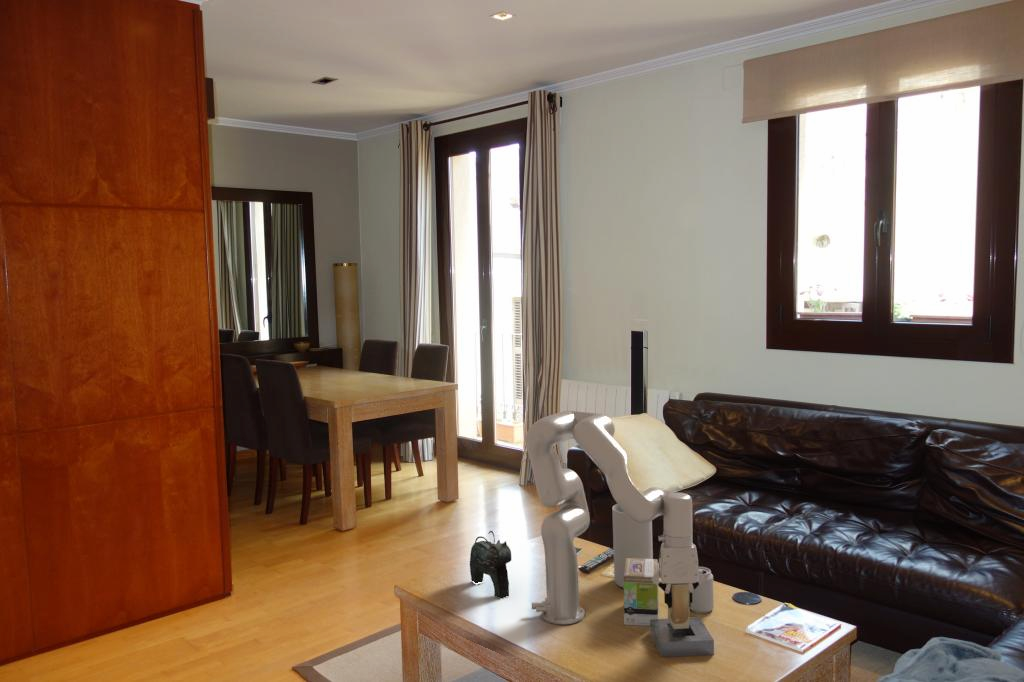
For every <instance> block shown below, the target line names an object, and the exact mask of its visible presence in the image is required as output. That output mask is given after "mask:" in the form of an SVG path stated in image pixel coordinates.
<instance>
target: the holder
mask: <svg viewBox="0 0 1024 682" xmlns="http://www.w3.org/2000/svg"><path fill="white" fill-rule="evenodd" d="M649 634H650V636H651V638H652V640H653V643H654V645H655V647H656V650H657V652H658V654H659V656H660V658H677V657H678V658H679V657H694V656H697V657H698V656H714V655H715V640H714V638H713V636H712V635H711V633H710V631H709V630H708V628H707V627H706V625H705V623H704V622H703V620H702V618H701V617H700V616H697V617H696V616H695V617H694V616H692V617H690V616H689V628H685V629H674V628H673V627H672V625H671V624H670V622H669V620H668V618H658V619H650V626H649Z"/></svg>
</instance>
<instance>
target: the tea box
mask: <svg viewBox="0 0 1024 682" xmlns="http://www.w3.org/2000/svg"><path fill="white" fill-rule="evenodd" d="M658 569H659V559H657V558H653V559H636V558H626V559H625V569H624V588H623V624H624V625H625V626H626V625H627V626H639V627H641V626H644V627H650V619H659V601H660V600H659V597H660V596H659V586H658V585H656V584H655V583H653V582H652V580H651V579H652V577H653V576H654V575H655V573H656V572H657V570H658Z"/></svg>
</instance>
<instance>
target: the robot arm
mask: <svg viewBox="0 0 1024 682" xmlns="http://www.w3.org/2000/svg"><path fill="white" fill-rule="evenodd" d="M615 431H616V428H615V425H614V423H613V421H612V419H611V418H610V417H608V416H607V415H605V414H601V413H596V412H586V411H585V412H584V411H576V410H563V411H559V412H557V413H553V414H549V415H546V416H545V417H542V418H540V419H538V420H536V421H534V423H533V424H532V425H531V426H530V427H529V428H528V430H527V432H526V436H525V447H526V451H527V454H528V457H529V461H530V464H531V468H532V474H533V478H534V483H535V488H536V492H537V496H538V499H539V501H540V503H541V504H542V505H543V506H544V507H546V508H552V509H553V508H556V507H559V508H558V509H556V510H554V511H552V512H551V513H549V514H548V515H547V516H546V517H545V518H544V519H543V521H542V523H541V527H540V533H541V539H542V543H543V549H544V565H545V584H546V585H545V587H546V597H545V598H544V600H542V601H541V602H531V610H535V611H536V613H540V612H541V617H542V618H543V620H545V622H548V623H551V624H553V625H572V624H576V623H578V621H579V622H580V620H581V621H582V620H583V619H584V618H585V615H586V612H585V609H584V608H583V607H581V606H580V596H579V593H580V592H579V567H578V565H579V563H578V552H577V550H576V547H575V543H574V539H576V538H577V537H579V536H581V535H582V534H583V533H585V532H586V530H588V528H589V526H590V521H591V519H590V516H591V515H590V512H589V507H588V502H587V499H586V492H585V490H584V484H583V482H582V480H581V478H580V476H579V475H578V473H577V472H575V471H574V470H572V469H570V468H562V465H561V464H562V463H561V460H560V457H559V455H558V453H557V451H556V449H555V448H554V446H555V445H558V444H561V443H563V442H566V441H568V440H571V439H572V440H574V441H575V442H576V443H577V445H578V446H579V447H580V449H582V451H583V452H584V453H585V454H586V455H587V456H588V457H589V458H590V459H591V460H592V462H593V463H594V464H595V465H596V466H597V467H598V469H599V470H600V471H601V472H602V473H603V474H604V477H605V479H606V483H607V486H608V488H609V491H610V493H611V495H612V498H613V499H614V501H615V502H616V504H618V505H619V506H620V507H621V508H622V509H623V510H624V511H625V512H626V514H627V515H628V516H629V517H630V518H632V519H633V520H634V521H636V522H639V523H648V522H650V521H652V522H653V520H655V519H656V518H658V517H661V516H663V533H662V535H658V538H657V539H658V542H662V543H661V544H660V545H661V546H660V550H659V557H658V570H657V572H656V573H655V575H654V576H653V577H652V579H651V580H652V582H653V583H655V584H656V585H658V588H660V589H661V590H662V591H663V592H664V594H663V595H664V599H663V600H664V604H666V605H667V608H668V607H669V608H671V607H672V597H671V592H670V588H671V584H689V607H691V603H692V593H693V592H694V590H695V589H696V588H697V587H698V586H699V584H701V583H702V582H703V581H705V578H704V576H703V575H702V574H701V572H700V571H699V567H700V566H699V558H698V551H697V546H696V544H694V543H693V499H692V497H691V495H689V494H688V493H684V492H679V491H678V492H673V491H670V490H666V489H664V488H660V487H658V486H656V487H655V486H654V487H650V488H647V489H645V490H644V491H642V492H641V491H640V490H639V488H638V487H637V486H636V485H635V484H634V483H633V481H632V480H631V478H630V476H629V472H628V462H629V455H628V453H627V452H626V451H625V450H624V448H622V446H621V445H620V444H619V443H618V442H617V441H616V440H615V439H614V438H613V437H614V435H615ZM659 579H660V580H659Z"/></svg>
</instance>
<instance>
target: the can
mask: <svg viewBox="0 0 1024 682" xmlns="http://www.w3.org/2000/svg"><path fill="white" fill-rule="evenodd" d="M698 567H699V571H700V572H701V574H702V575H703V576H704V578H705V581H703V582H702V583H701V584H699V586H698V587H697V588H696V589H695V590H694V592H693V593H692V603H691V607H689V610H691V611H692V612H694V613H697V614H708V613H710V612H711V611H712V610H713V609H714V607H715V604H714V603H715V601H714V600H715V599H714V598H715V597H714V575H713V574H712V571H711V569H710V568H708V567H705V566H698Z"/></svg>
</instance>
